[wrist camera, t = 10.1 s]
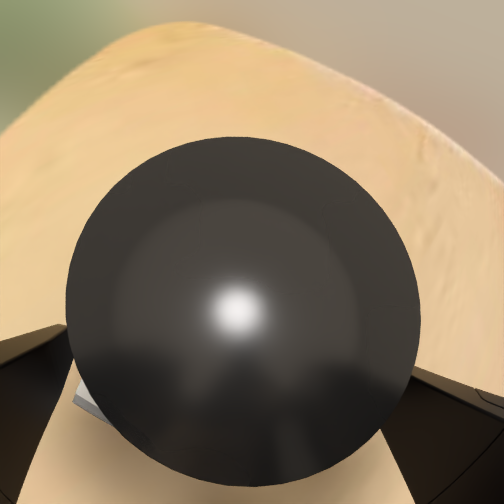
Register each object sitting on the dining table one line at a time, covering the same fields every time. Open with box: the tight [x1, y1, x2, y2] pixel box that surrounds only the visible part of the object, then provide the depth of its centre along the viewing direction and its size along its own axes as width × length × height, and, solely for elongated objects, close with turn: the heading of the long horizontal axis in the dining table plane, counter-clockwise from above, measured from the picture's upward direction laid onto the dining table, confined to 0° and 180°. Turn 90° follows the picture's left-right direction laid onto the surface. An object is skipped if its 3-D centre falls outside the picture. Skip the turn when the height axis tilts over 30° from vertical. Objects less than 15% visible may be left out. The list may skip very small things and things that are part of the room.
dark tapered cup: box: [66, 137, 421, 487], centre depth 10 cm, size 6×6×13 cm
